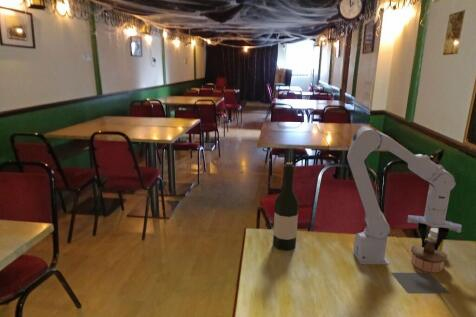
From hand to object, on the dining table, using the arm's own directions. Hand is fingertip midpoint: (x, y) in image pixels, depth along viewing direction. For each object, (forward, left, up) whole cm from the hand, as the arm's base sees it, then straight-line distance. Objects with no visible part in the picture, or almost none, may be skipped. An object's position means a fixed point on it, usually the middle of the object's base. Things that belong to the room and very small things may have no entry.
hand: (429, 247), depth 109 cm
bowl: (0, 0, -6) cm, 6 cm away
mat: (-8, -10, -6) cm, 14 cm away
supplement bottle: (+7, +8, -6) cm, 12 cm away
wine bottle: (-44, +13, -6) cm, 46 cm away
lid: (0, -1, -2) cm, 2 cm away
